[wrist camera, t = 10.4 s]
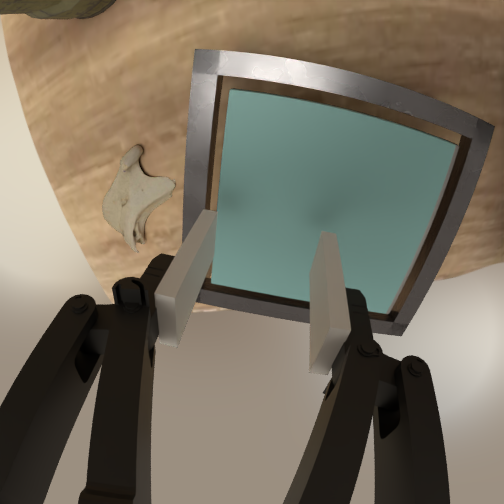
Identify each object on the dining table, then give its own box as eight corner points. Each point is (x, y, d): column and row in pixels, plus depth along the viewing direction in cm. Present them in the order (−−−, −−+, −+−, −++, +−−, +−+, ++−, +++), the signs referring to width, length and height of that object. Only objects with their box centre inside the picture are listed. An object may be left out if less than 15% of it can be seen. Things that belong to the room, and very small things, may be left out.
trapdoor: (455, 143, 16) (461, 147, 16) (388, 306, 24) (391, 314, 23) (233, 88, 17) (229, 89, 16) (214, 275, 25) (211, 283, 24)
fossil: (187, 171, 31) (175, 183, 28) (146, 243, 36) (134, 259, 33) (133, 137, 29) (116, 145, 26) (100, 213, 35) (85, 226, 32)
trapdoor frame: (435, 102, 23) (494, 126, 14) (380, 266, 33) (401, 336, 25) (231, 54, 24) (194, 48, 15) (212, 234, 34) (182, 299, 25)
